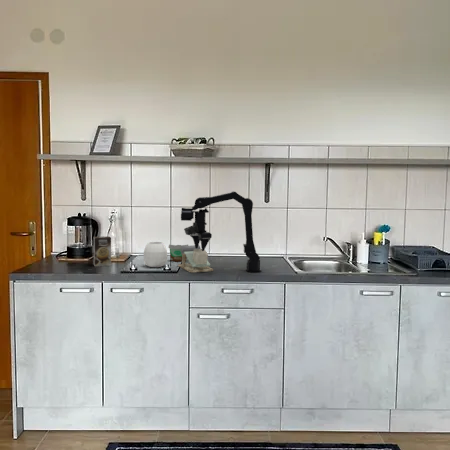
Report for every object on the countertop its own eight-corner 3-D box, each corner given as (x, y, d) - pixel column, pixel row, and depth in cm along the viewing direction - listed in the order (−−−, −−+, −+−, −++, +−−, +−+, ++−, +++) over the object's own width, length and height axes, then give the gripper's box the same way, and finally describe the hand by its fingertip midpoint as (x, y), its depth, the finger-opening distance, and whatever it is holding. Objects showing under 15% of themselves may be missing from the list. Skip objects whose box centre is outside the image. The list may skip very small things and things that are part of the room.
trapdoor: (196, 251, 274) (198, 243, 272) (209, 269, 257) (210, 261, 255) (180, 252, 269) (181, 244, 267) (192, 270, 253) (193, 262, 251)
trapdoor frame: (199, 264, 274) (200, 251, 273) (213, 270, 257) (213, 256, 256) (178, 266, 269) (178, 252, 268) (190, 272, 251) (190, 257, 250)
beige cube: (202, 258, 261) (204, 248, 259) (206, 263, 256) (208, 254, 254) (192, 258, 258) (193, 249, 256) (196, 264, 254) (197, 254, 251)
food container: (169, 262, 280) (169, 245, 279) (168, 260, 286) (168, 244, 285) (189, 262, 282) (190, 245, 281) (188, 260, 288) (188, 243, 287)
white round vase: (140, 265, 269) (140, 241, 268) (162, 263, 275) (162, 240, 274) (147, 269, 258) (147, 244, 256) (170, 267, 264) (170, 243, 262)
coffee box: (94, 266, 262) (94, 237, 260) (93, 264, 268) (93, 236, 266) (111, 265, 265) (111, 237, 264) (109, 263, 271) (109, 236, 270)
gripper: (180, 219, 260) (179, 247, 261) (192, 222, 243) (192, 252, 245) (198, 219, 264) (198, 246, 266) (212, 222, 248) (211, 251, 249)
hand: (199, 249), depth 256 cm, fingers open, 9 cm apart
